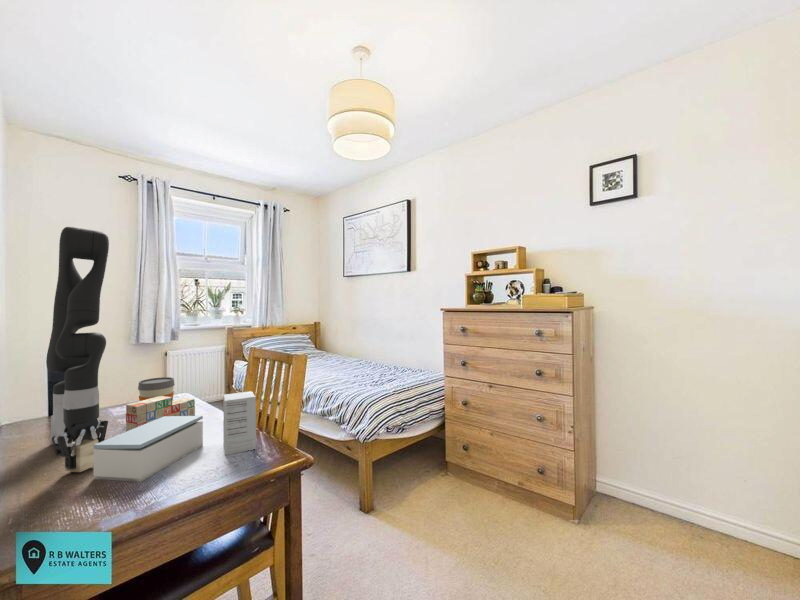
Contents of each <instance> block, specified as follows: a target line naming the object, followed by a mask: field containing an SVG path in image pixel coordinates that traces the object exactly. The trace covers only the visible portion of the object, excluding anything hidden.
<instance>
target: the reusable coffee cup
mask: <svg viewBox="0 0 800 600" xmlns="http://www.w3.org/2000/svg"><path fill="white" fill-rule="evenodd" d="M174 386H175V379H174V377H171V376H169V377H168V376H166V377H165V376H164V377H163V376H162V377H161V376H160V377H152V378H146V379H141V380H140V381H139V382H138V385H137V390H138V391H139V396H138V402H139V401H143V400H146V399H150V398H154V397H158V396H166V397H172V401H173V400H174V394H175V392H174Z"/></svg>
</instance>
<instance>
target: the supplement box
mask: <svg viewBox="0 0 800 600" xmlns="http://www.w3.org/2000/svg"><path fill="white" fill-rule="evenodd" d="M256 397H257V396H256V395H255V394H254V392H253V391H243V392H234V393H233V392H232V393H227V394H223V395H222V401H223V403H222V404H223V405H222V407H223V410H222V411H223V429H222V430H223V431H222V432H223V451H224V455H225V456H228V455H233V454H239V453H242V452H244V453H245V452H248V450H249V451H254V450H253V449H255V450H257V398H256Z"/></svg>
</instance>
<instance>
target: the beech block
mask: <svg viewBox="0 0 800 600" xmlns="http://www.w3.org/2000/svg"><path fill="white" fill-rule="evenodd" d="M73 443H75V442H73ZM97 443H98V440H97V439H95V440H83V441H81V444H80V446H77V447H76V454H75V455H76V468H75V469H73V470H69V469H67V468H66V467H65V466H64V472H73V473H82V472H85V471H86V470H88V469H90V468H94V446H93V445H95V444H97ZM71 449H72V447H70V451H71Z"/></svg>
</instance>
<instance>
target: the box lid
mask: <svg viewBox="0 0 800 600" xmlns="http://www.w3.org/2000/svg"><path fill="white" fill-rule="evenodd" d="M202 420H203V415H195V416H164V417H161V418H159V419H156V420H154V421H151V422H149V423H146V424H144V425H142V426H139V427H137V428H134V429H132V430H129V431H127V430H126V431H127V432H126V431H124V432H122V433H119V434H117V435H115V436H112V437H109V438H107V439H105V440H104V441H102V442H100V443H97V444H95V445H93V446H94V449H141V448H143V447H145V446H147V445H149V444H151V443H153V442H155V441H157V440H159V439H161V438H164V437H166V436H168V435H170V434H172V433H174V432H176V431H178V430H180V429H182V428H184V427H187V426H189V425H191V424H193V423H195V422H197V421H202Z"/></svg>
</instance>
